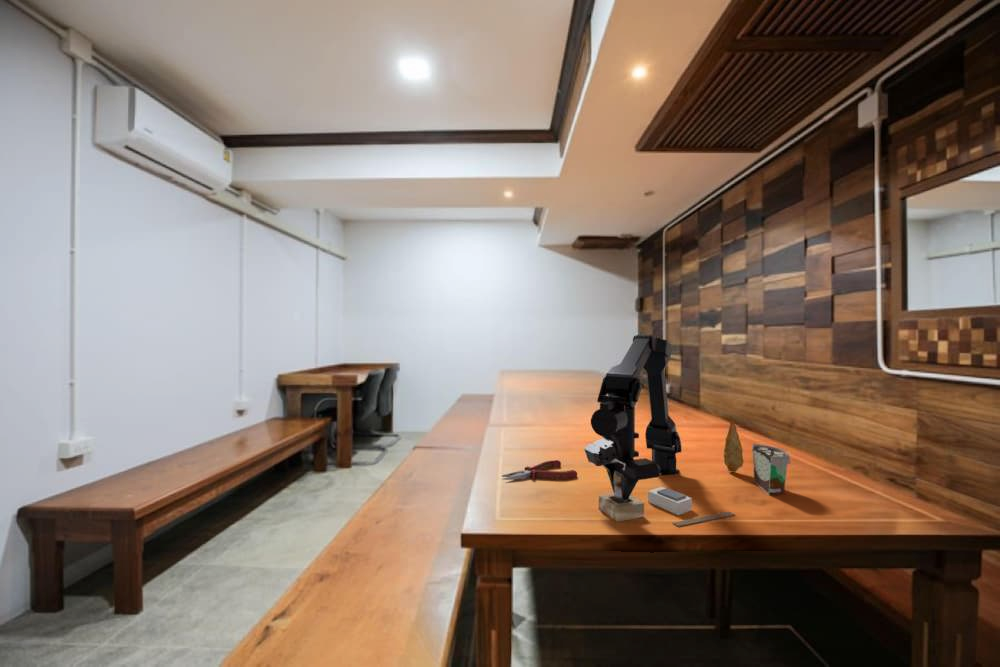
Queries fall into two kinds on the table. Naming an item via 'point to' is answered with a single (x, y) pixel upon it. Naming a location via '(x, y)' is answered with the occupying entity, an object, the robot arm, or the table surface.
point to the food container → (770, 468)
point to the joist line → (703, 519)
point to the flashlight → (618, 488)
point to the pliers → (542, 472)
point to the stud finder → (670, 500)
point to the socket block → (621, 507)
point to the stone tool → (733, 449)
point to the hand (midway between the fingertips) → (620, 496)
